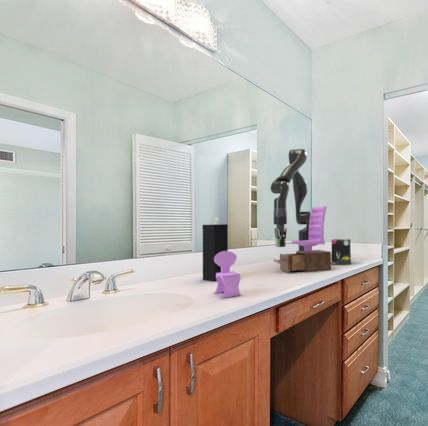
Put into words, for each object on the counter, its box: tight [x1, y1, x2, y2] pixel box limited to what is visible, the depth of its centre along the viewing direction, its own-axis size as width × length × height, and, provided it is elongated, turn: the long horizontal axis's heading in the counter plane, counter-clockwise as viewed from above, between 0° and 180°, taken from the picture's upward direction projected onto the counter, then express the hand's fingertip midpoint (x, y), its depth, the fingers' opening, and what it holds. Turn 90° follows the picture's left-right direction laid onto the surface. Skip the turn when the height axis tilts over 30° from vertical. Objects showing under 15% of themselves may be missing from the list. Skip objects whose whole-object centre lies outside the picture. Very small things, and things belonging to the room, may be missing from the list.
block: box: [275, 238, 286, 248], centre depth 158 cm, size 4×4×4 cm
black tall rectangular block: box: [202, 216, 229, 282], centre depth 127 cm, size 8×8×28 cm
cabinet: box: [295, 249, 332, 273], centre depth 150 cm, size 15×13×10 cm
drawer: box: [273, 252, 306, 273], centre depth 145 cm, size 18×11×8 cm, turn 115°
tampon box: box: [330, 238, 352, 266], centre depth 171 cm, size 11×9×15 cm
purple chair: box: [291, 205, 328, 251], centre depth 170 cm, size 15×17×35 cm
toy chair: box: [214, 250, 241, 299], centre depth 99 cm, size 8×9×15 cm
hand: (280, 246), depth 158 cm, fingers closed on block, 4 cm apart
